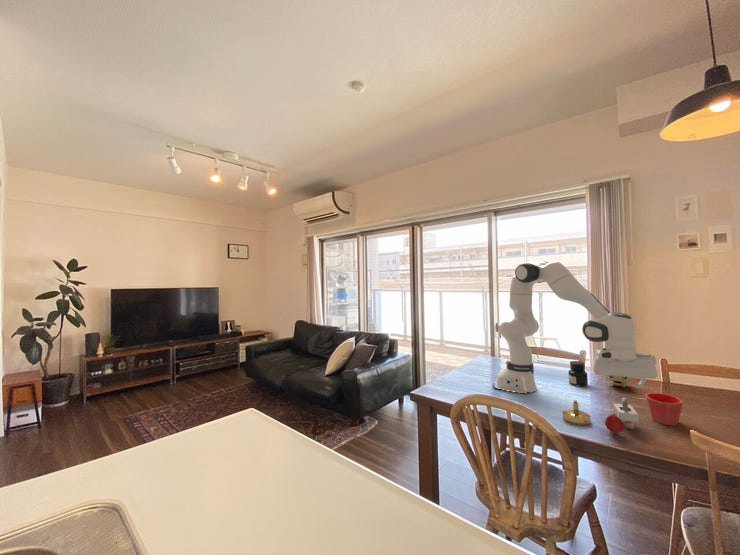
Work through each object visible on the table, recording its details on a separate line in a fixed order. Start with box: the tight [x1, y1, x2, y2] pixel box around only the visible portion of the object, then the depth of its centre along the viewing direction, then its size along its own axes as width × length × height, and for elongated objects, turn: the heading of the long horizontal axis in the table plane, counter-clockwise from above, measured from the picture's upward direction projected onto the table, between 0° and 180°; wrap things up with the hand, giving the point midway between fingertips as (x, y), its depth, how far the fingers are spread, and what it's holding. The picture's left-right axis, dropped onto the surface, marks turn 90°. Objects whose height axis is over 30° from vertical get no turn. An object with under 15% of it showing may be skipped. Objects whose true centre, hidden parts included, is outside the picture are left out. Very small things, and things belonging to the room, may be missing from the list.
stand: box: [621, 397, 635, 430], centre depth 125 cm, size 5×5×11 cm
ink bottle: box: [568, 360, 589, 387], centre depth 172 cm, size 10×9×12 cm
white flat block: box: [612, 403, 640, 423], centre depth 125 cm, size 6×9×3 cm, turn 153°
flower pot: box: [645, 392, 684, 426], centre depth 127 cm, size 11×11×10 cm
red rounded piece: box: [604, 413, 625, 435], centre depth 120 cm, size 6×6×8 cm
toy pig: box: [608, 376, 630, 388], centre depth 166 cm, size 10×12×11 cm
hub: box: [562, 399, 592, 427], centre depth 132 cm, size 10×10×8 cm
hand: (624, 387), depth 125 cm, fingers open, 8 cm apart
